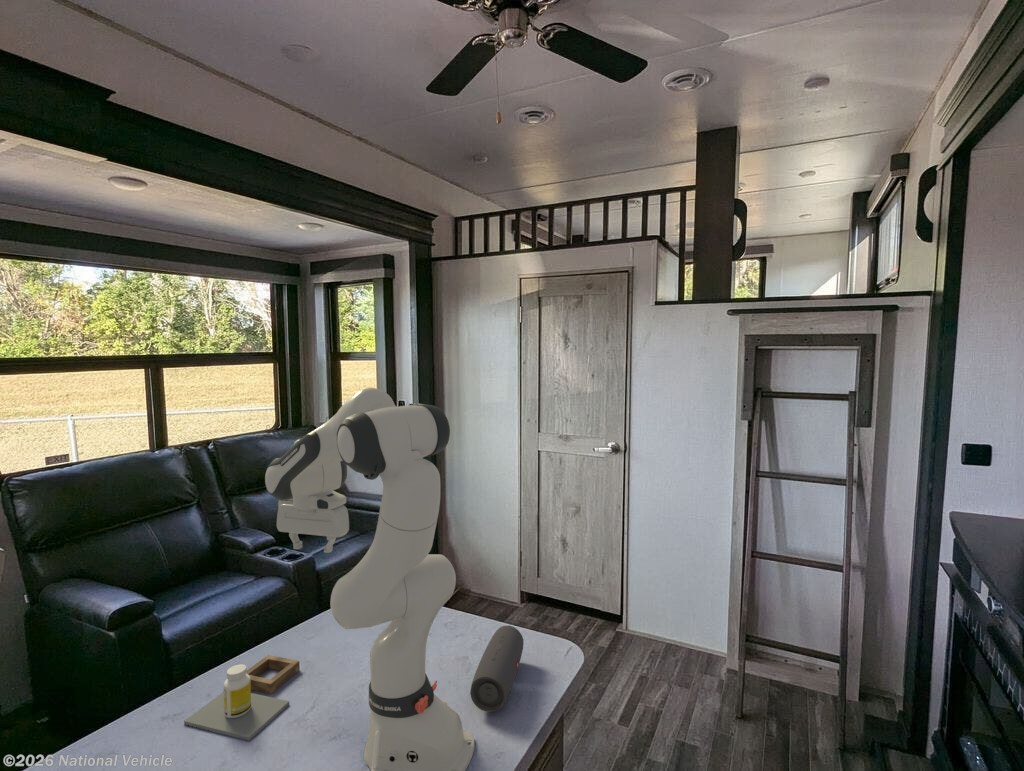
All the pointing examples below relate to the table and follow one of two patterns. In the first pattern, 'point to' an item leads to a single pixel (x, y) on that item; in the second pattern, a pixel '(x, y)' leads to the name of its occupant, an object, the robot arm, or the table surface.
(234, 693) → the supplement bottle
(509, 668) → the bluetooth speaker
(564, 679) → the table surface
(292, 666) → the walnut collar
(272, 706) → the slate mat
